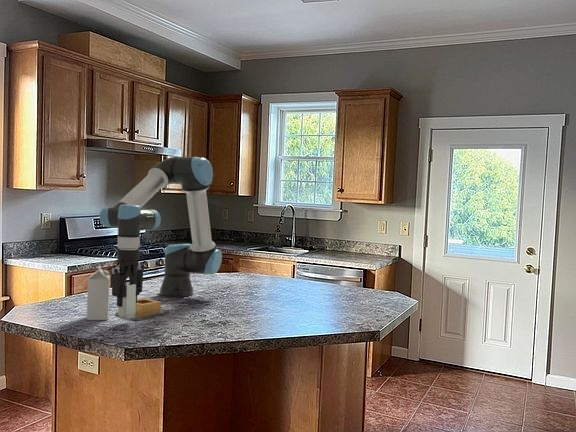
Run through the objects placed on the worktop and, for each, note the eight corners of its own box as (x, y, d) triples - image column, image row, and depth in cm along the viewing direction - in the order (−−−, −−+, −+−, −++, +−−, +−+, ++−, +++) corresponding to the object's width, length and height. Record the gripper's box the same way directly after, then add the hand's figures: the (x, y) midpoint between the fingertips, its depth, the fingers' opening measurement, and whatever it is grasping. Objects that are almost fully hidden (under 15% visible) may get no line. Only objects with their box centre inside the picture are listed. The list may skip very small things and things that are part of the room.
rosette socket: (147, 308, 210) (148, 296, 210) (169, 313, 204) (169, 300, 204) (115, 315, 197) (115, 302, 197) (137, 320, 190) (137, 307, 190)
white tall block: (127, 315, 188) (128, 282, 187) (135, 317, 186) (135, 284, 185) (118, 317, 185) (119, 284, 184) (126, 319, 182) (126, 285, 182)
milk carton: (86, 320, 187) (88, 268, 186) (88, 316, 194) (90, 265, 193) (107, 320, 189) (109, 268, 188) (108, 315, 196) (110, 265, 195)
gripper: (140, 245, 193) (138, 308, 194) (101, 249, 179) (99, 316, 180) (154, 247, 189) (152, 311, 190) (115, 251, 175) (114, 320, 176)
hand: (126, 314), depth 185 cm, fingers closed on white tall block, 4 cm apart
